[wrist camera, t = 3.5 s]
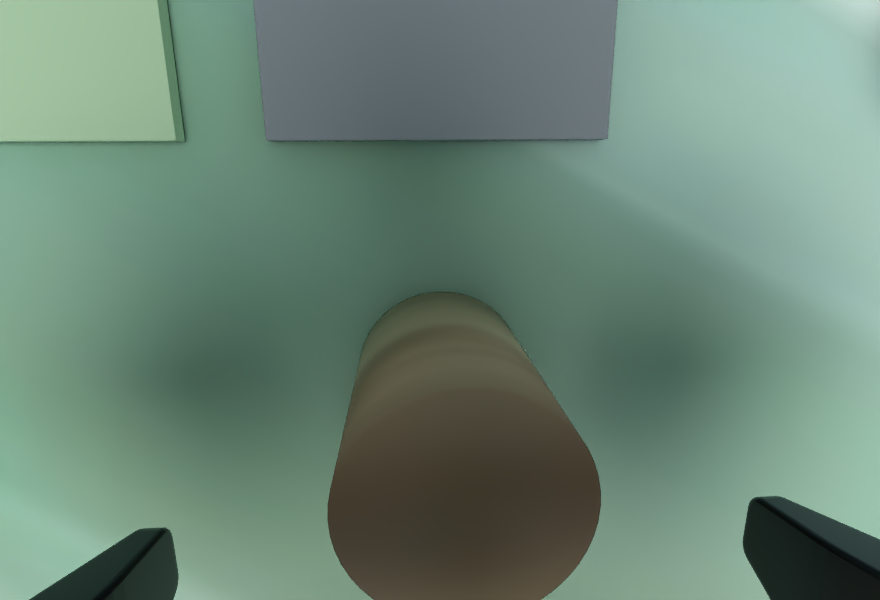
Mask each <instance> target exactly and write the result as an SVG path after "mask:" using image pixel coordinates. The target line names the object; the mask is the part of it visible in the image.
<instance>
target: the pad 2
mask: <svg viewBox="0 0 880 600" xmlns="http://www.w3.org/2000/svg"><path fill="white" fill-rule="evenodd" d="M253 1H254V12H255V23H256V35H257V46H258V57H259V68H260V79H261V90H262V101H263V113H264V124H265V135H266V140H268V141H443V140H603V139H607V138H608V125H609V111H610V98H611V84H612V70H613V57H614V43H615V29H616V16H617V2H618V0H253Z"/></svg>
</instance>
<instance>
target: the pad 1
mask: <svg viewBox="0 0 880 600" xmlns="http://www.w3.org/2000/svg"><path fill="white" fill-rule="evenodd" d="M0 142H185V138H184V130H183V122H182V114H181V107H180V99H179V91H178V83H177V75H176V68H175V60H174V52H173V44H172V36H171V29H170V21H169V13H168V5H167V0H0Z"/></svg>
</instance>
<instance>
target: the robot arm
mask: <svg viewBox="0 0 880 600" xmlns="http://www.w3.org/2000/svg"><path fill="white" fill-rule="evenodd" d="M743 548H744V552H745V555H746V557H747V559H748V561H749V563H750V564H751V566H752V568H753V570H754V571H755V573H756V575H757V577H758V578H759V580H760V582H761V584H762V585H763V587H764V589H765V591H766V592H767V594H768V596H769V598H770V599H771V600H880V539H877V538H875V537H873V536H870V535H868V534H866V533H863V532H861V531H859V530H857V529H854V528H852V527H850V526H847V525H845V524H843V523H840V522H838V521H836V520H834V519H831V518H829V517H827V516H824V515H822V514H820V513H817V512H815V511H813V510H810V509H808V508H806V507H804V506H801V505H799V504H797V503H794V502H792V501H790V500H787V499H785V498H783V497H779V496H767V497H755V498H753V499H752V500H751V501H750V503H749V506H748V511H747V517H746V524H745V530H744V536H743ZM177 585H178V568H177V562H176V556H175V549H174V543H173V537H172V534H171V532H170V530H169V529H167V528H144V529H139V530H137V531H135V532H133V533H132V534H130V535H129V536H127V537H126V538H124V539H123V540H121V541H119V542H118V543H116V544H115V545H113V546H112V547H110V548H109V549H107V550H106V551H104V552H102V553H101V554H99V555H98V556H96V557H95V558H93V559H92V560H90V561H88V562H87V563H85V564H84V565H82V566H81V567H79V568H78V569H76V570H74V571H73V572H71V573H70V574H68V575H67V576H65V577H64V578H62V579H60V580H59V581H57V582H56V583H54V584H53V585H51V586H50V587H48V588H47V589H45V590H43V591H42V592H40V593H39V594H37V595H36V596H34V597H33V598H31V599H29V600H173V599H174V596H175V593H176V590H177Z"/></svg>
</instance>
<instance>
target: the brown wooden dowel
mask: <svg viewBox="0 0 880 600" xmlns="http://www.w3.org/2000/svg"><path fill="white" fill-rule="evenodd" d="M600 507H601V490H600V483H599V476H598V473H597V469H596V466H595V463H594V460H593V458H592V456H591V454H590V452H589V450H588V448H587V446H586V444H585V443H584V441H583V440H582V438H581V437H580V435H579V434H578V432H577V431H576V429H575V428H574V426H573V425H572V423H571V422H570V420H569V418H568V417H567V415H566V414H565V412H564V411H563V409H562V408H561V406H560V405H559V403H558V402H557V400H556V399H555V397H554V396H553V394H552V392H551V391H550V389H549V388H548V386H547V385H546V383H545V382H544V380H543V379H542V377H541V376H540V374H539V373H538V371H537V370H536V368H535V366H534V365H533V363H532V362H531V360H530V359H529V357H528V356H527V354H526V353H525V351H524V350H523V348H522V347H521V345H520V344H519V342H518V340H517V339H516V337H515V336H514V334H513V333H512V331H511V330H510V328H509V327H508V325H507V324H506V322H505V321H504V320H503V319H502V318H501V317H500V315H499V314H498V313H496V312H495V311H494V310H493V309H492V308H491V307H489V306H487V305H486V304H484V303H483V302H481V301H479V300H477V299H475V298H472V297H470V296H466V295H463V294H458V293H453V292H431V293H425V294H421V295H417V296H414V297H411V298H409V299H406V300H404V301H402V302H401V303H399V304H397V305H396V306H394V307H393V308H391V309H390V310H388V311H387V312H386V313H385V314H384V315H383V316H382V317H381V318H380V319H379V320H378V321H377V323H376V324H375V325H374V326H373V328H372V329H371V331H370V333H369V334H368V336H367V339H366V341H365V343H364V346H363V349H362V352H361V357H360V361H359V365H358V370H357V374H356V379H355V383H354V387H353V392H352V396H351V401H350V405H349V409H348V414H347V418H346V423H345V427H344V431H343V436H342V440H341V444H340V449H339V453H338V458H337V462H336V466H335V471H334V475H333V480H332V484H331V488H330V494H329V501H328V526H329V532H330V538H331V541H332V544H333V547H334V550H335V553H336V555H337V557H338V559H339V561H340V563H341V565H342V566H343V568H344V569H345V571H346V572H347V574H348V575H349V577H350V578H351V579H352V580H353V581H354V582H355V583H356V584H357V586H358V587H359V588H360V589H361V590H362V591H364V592H365V593H366V594H367V595H369V596H370V597H371V598H372V599H374V600H541V599H542V598H544V597H545V596H547V595H548V594H549V593H551V592H552V591H553V590H555V589H556V588H557V587H558V586H559V585H560V584H561V583H562V582H563V581H564V580H565V579H567V578H568V577H569V575H570V574H571V573H572V572H573V571H574V569H575V568H576V567H577V566H578V564H579V563H580V561H581V560H582V558H583V557H584V555H585V553H586V552H587V550H588V548H589V546H590V544H591V541H592V539H593V537H594V534H595V531H596V527H597V524H598V520H599V514H600Z"/></svg>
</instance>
